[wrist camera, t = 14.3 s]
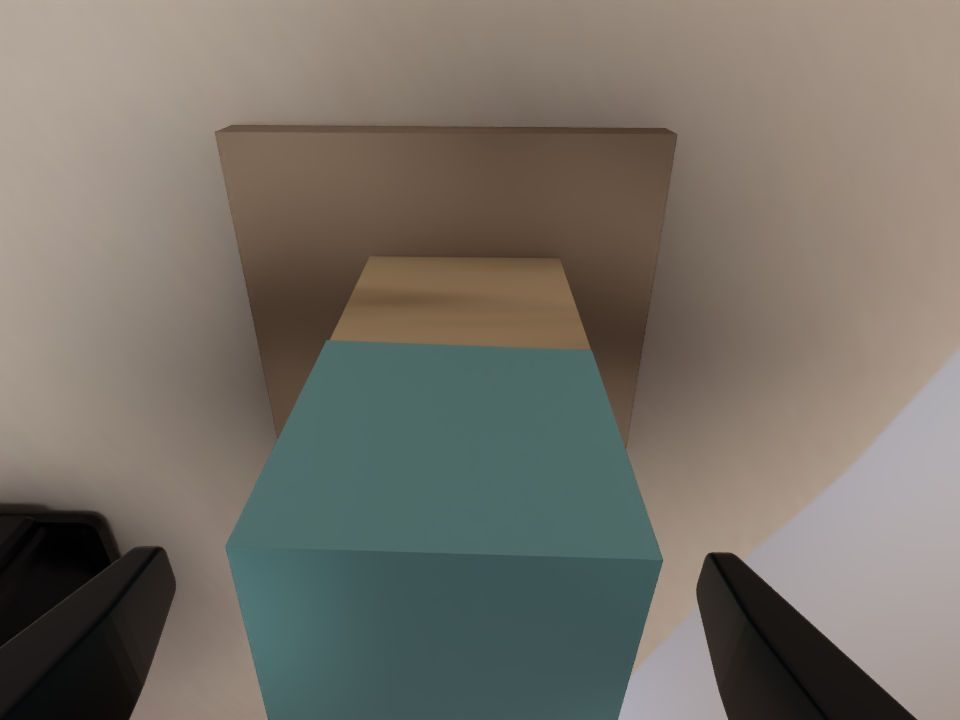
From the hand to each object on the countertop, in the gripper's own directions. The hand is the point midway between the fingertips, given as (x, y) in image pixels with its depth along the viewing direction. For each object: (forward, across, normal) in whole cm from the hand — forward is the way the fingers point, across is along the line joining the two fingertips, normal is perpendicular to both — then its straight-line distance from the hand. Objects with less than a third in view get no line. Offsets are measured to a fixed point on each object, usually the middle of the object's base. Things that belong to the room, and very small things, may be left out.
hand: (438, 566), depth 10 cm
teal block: (+3, 0, 0) cm, 3 cm away
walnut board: (+10, 0, 0) cm, 10 cm away
